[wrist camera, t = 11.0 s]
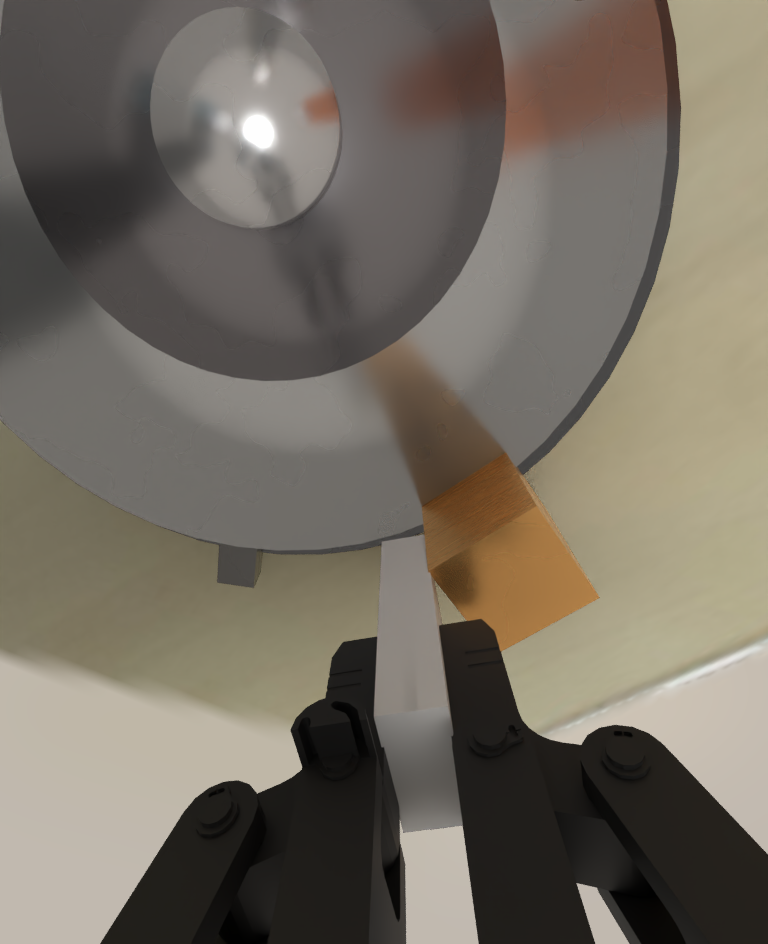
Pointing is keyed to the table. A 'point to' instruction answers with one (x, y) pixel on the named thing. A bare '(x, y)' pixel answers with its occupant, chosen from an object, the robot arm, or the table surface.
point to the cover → (258, 166)
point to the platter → (386, 353)
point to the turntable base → (639, 298)
